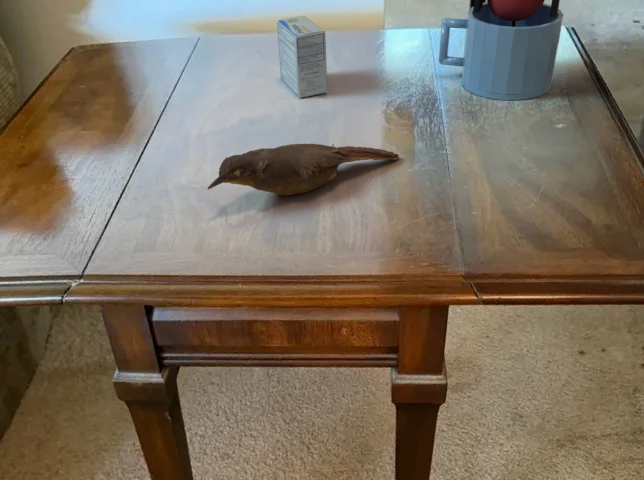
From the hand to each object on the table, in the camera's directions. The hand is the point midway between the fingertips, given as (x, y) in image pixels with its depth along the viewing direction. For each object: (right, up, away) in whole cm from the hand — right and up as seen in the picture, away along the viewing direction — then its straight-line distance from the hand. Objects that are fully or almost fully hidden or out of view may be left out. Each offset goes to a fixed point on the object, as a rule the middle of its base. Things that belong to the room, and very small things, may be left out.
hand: (515, 11), depth 101 cm
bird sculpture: (-28, -26, -15) cm, 41 cm away
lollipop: (+1, -7, +6) cm, 9 cm away
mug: (-1, -7, +7) cm, 10 cm away
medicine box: (-28, -8, +8) cm, 30 cm away
